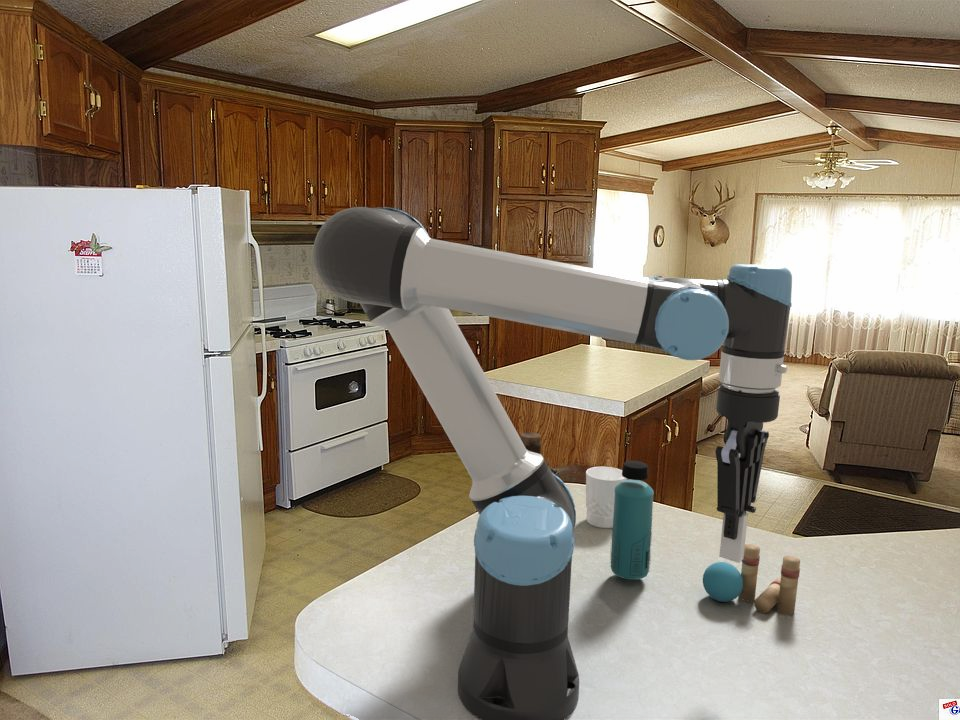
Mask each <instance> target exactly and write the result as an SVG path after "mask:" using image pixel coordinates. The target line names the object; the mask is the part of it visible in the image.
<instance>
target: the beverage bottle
mask: <svg viewBox="0 0 960 720" xmlns="http://www.w3.org/2000/svg"><path fill="white" fill-rule="evenodd" d="M622 464H623V465H622V469H621V470H622V476H623V477H625V478H627V480H624V481H622V482H621V483H619V484H618V485H617V486H616V487H615V498H614V515H613V519H612V520H613V528H611V547H610V551H609V553H610V554H609V555H610V566H609V567H610V569H611V572H612V573H613V574H614V575H616V576H617V577H619V578H623V579H627V580H641V579H644V578H646V577H647V576H648V574H649V572H650V570H651V569H650V568H651V567H650V566H651V563H650V562H651V558H652V557H651V555H652V554H651V548H652V543H653V541H652V534H653V531H652V529H653V508H654V507H653V506H654V505H653V504H654V495H655V492H654V489H653V488H652V487H651V486H650V484H648V483H646V482H645V481H644V480H646V479H648V478H649V467H648V464H647V463H645V462H643V461H639V460H627V461H625V462H624V463H622Z"/></svg>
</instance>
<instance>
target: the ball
mask: <svg viewBox="0 0 960 720" xmlns="http://www.w3.org/2000/svg"><path fill="white" fill-rule="evenodd" d="M702 585H703V588H704V590H705V592H706V593H707V595H708V596H709V597H711V598H712V600H713V599H714V600H715V601H718V602H721V603H722V602H723V603H726V602H727V603H728V602H731V601H732V602H733V601H734V600H735V599H737V598H739V595H740V593H741V591H742V588H743V579H742V576H741V572H740V570H738V568H737V567H735V566H734V565H733V564H731V563H728V562H725V561H717V562H714V563H711V564H709V566H707V568H706V569H705V570H704V572H703V575H702Z"/></svg>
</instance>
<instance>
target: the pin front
mask: <svg viewBox="0 0 960 720" xmlns="http://www.w3.org/2000/svg"><path fill="white" fill-rule="evenodd" d="M780 581H781V577H777V578H776V579H775V580H773V581H772V582H771V583H770V584H769V585H768V586H767V588H766V589H765V590H763V591H762V592H761V593H760V594H759V595H758V596H757V597H755V600H754V601H753V604H754V605H753V606H754V608H755V609H756V610H757V611H758V612H759V613H762V614H766V613H768V612H769V611H770V610H771V609H773V608H774V606H775V605H777V604H778V599H779V590H780Z"/></svg>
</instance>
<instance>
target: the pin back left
mask: <svg viewBox="0 0 960 720" xmlns="http://www.w3.org/2000/svg"><path fill="white" fill-rule="evenodd" d="M760 551H761V548H760V546H758V545H756V544H751V543H745V548H744V557H743V560H742V561H741V570H740V571H741V572H740V574H741V576H742V579H743V588H742V591H741V593H740V595H739V596H738V598H739V599H740V600H742V601H745V602H754V601H755V599H756V591H757V582H758V573H759V571H758V570H759V565H760V558H761V556H760Z"/></svg>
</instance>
